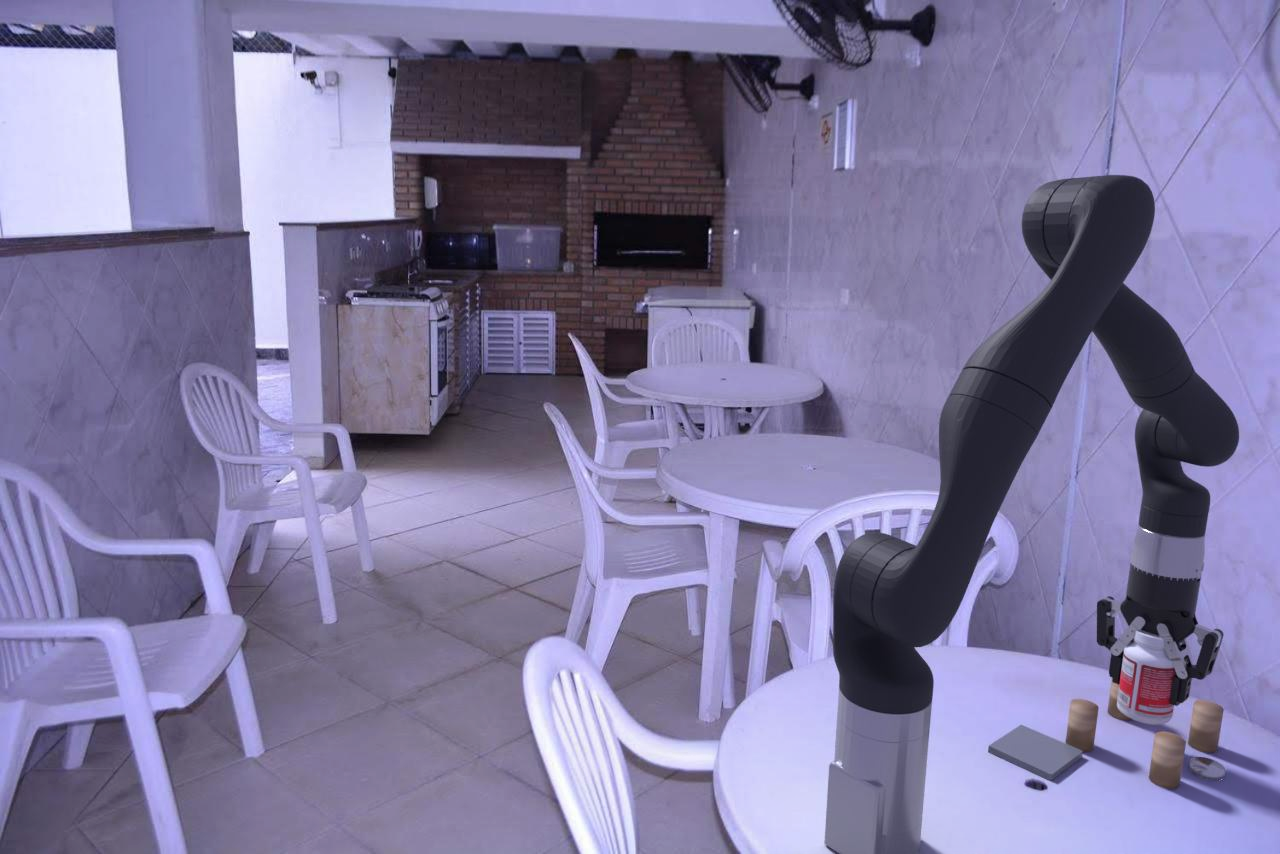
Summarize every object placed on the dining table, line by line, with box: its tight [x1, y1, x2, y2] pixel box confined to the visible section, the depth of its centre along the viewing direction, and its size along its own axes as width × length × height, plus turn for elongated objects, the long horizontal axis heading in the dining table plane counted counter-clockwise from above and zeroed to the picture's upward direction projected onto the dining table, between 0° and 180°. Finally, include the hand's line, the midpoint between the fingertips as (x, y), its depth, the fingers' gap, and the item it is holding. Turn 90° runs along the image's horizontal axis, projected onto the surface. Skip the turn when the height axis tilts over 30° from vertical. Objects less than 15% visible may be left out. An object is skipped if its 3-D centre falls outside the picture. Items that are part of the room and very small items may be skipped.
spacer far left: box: [1187, 699, 1224, 754], centre depth 115 cm, size 3×3×6 cm
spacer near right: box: [1065, 698, 1099, 753], centre depth 115 cm, size 3×3×6 cm
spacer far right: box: [1107, 677, 1134, 722], centre depth 123 cm, size 3×3×6 cm
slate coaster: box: [987, 724, 1084, 781], centre depth 114 cm, size 8×8×1 cm
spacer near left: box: [1148, 731, 1187, 790], centre depth 108 cm, size 3×3×6 cm
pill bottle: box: [1117, 630, 1177, 725], centre depth 114 cm, size 6×6×11 cm
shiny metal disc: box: [1188, 756, 1226, 782], centre depth 110 cm, size 4×4×1 cm
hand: (1146, 692), depth 114 cm, fingers closed on pill bottle, 6 cm apart
